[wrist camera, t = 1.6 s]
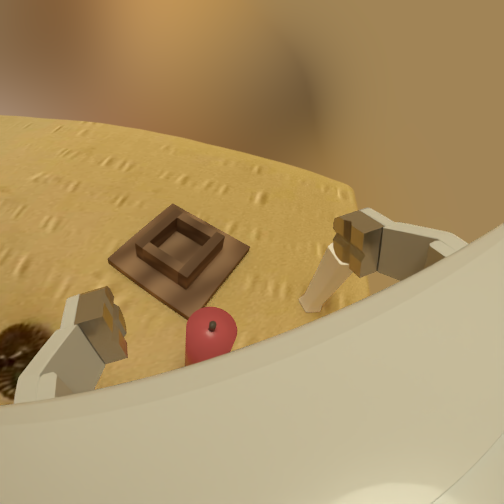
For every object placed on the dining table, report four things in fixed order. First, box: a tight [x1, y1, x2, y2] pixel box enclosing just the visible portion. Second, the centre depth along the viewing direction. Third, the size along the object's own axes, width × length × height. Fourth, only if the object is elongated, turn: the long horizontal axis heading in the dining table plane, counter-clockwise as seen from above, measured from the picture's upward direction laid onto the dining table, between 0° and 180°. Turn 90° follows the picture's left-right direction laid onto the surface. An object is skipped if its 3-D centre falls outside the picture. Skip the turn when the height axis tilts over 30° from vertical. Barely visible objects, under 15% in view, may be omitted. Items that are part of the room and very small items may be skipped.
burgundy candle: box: [185, 307, 237, 366], centre depth 29 cm, size 4×4×14 cm
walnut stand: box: [108, 204, 250, 320], centre depth 44 cm, size 16×16×4 cm
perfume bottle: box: [299, 243, 353, 312], centre depth 39 cm, size 5×4×15 cm
